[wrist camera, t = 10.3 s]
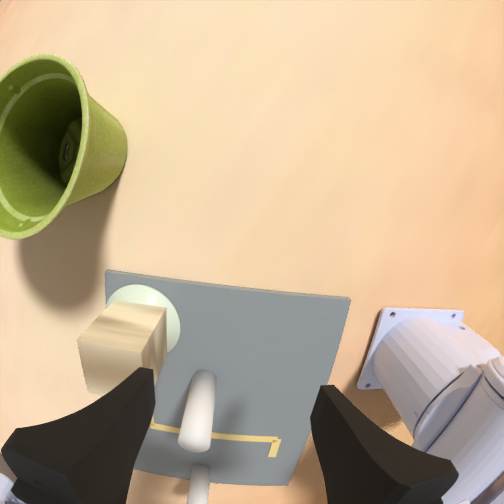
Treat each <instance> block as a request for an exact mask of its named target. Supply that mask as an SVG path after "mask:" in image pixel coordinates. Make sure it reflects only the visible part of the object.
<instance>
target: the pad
mask: <svg viewBox="0 0 504 504" xmlns="http://www.w3.org/2000/svg"><path fill="white" fill-rule="evenodd" d="M114 300H119V301H125V302H132V303H138V304H145V305H152V306H159V307H166V308H167V353H169V352H170V351H171V350H172V349H173V348H174V347H175V345H176V344H177V341H178V339H179V337H180V333H181V321H180V317H179V314H178V311H177V309H176V308H175V306H174V304H173V303H172V302H171V300H170V299H169V298H168V297H167V296H166V295H164V294H163V293H162V292H160V291H159V290H157V289H155V288H153V287H151V286H148V285H144V284H129V285H126V286H123V287H121V288H119V289H118V290H117V291H115V292H114V293H113V294H112V295H111V297H110V298H109V300H108V302H107V304H106V307H105V309H106V308H107V307H108V306H109V305H110V304H111V303H112V302H113V301H114Z"/></svg>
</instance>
